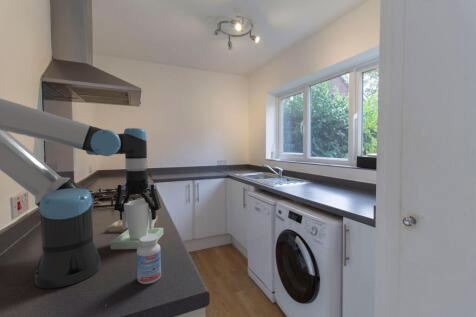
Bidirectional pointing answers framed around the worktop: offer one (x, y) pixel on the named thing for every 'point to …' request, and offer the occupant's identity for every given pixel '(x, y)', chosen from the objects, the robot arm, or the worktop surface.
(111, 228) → the holder
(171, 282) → the worktop surface
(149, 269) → the pill bottle
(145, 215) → the foam cup
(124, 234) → the tray
